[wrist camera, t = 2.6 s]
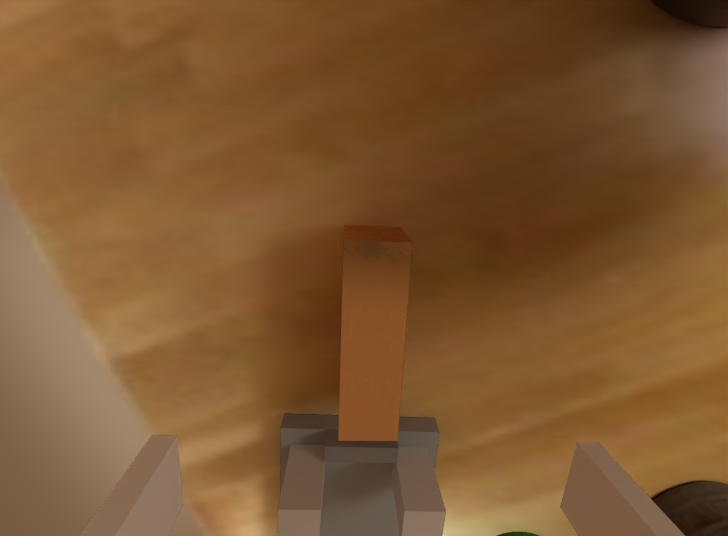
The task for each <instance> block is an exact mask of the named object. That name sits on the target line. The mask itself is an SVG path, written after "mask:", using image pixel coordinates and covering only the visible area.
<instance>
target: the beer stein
mask: <svg viewBox="0 0 728 536" xmlns="http://www.w3.org/2000/svg"><path fill="white" fill-rule="evenodd" d="M653 502H654V503H655V504H656V505H657V506H658V507H659V508H660V509H661V510H662V511H663V512H664V514H665V515H666V516H667V517H668V518H669V519H670V520H671V521H672V522H673V523H674V524H675V525H676V526H677V527H678V529H679V530H680V531H681V532H682V533H683V534H684V535H685V536H728V484H724V483H720V482H706V481H700V482H695V483H690V484H685V485H681V486H678V487H676V488H673V489H670V490H669V491H667V492H665V493H663V494H662V495H660V496H658V497H656V498H655V499H654V500H653Z"/></svg>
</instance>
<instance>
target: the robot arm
mask: <svg viewBox="0 0 728 536" xmlns="http://www.w3.org/2000/svg"><path fill="white" fill-rule="evenodd" d="M653 1H654V2H655V3H656V4H657V5H659V6H660V7H661V8H663V9H664V10H665V11H667V12H669V13H670V14H672V15H674V16H676V17H678V18H680V19H682V20H685V21H687V22H690V23H694V24H698V25H703V26H710V27H728V0H653ZM182 506H183V502H182V489H181V476H180V463H179V450H178V437H177V435H152V436H151V437H150V439H149V440H148V441H147V443H146V444H145V446H144V447H143V448H142V450H141V451H140V453H139V454H138V455H137V457H136V458H135V460H134V461H133V462H132V464H131V465H130V467H129V468H128V469H127V471H126V472H125V474H124V475H123V476H122V478H121V479H120V481H119V482H118V483H117V485H116V486H115V488H114V489H113V490H112V492H111V493H110V494H109V496H108V497H107V499H106V500H105V502H104V503H103V504H102V506H101V507H100V509H99V510H98V511H97V513H96V514H95V516H94V517H93V518H92V520H91V521H90V522H89V524H88V525H87V527H86V528H85V529H84V531H83V532H82V534H81V535H80V536H168V535H169V533H170V531H171V529H172V527H173V525H174V523H175V521H176V519H177V517H178V514H179V512H180V510H181V508H182ZM560 507H561V509H562V510H563V512H564V514H565V515H566V517H567V518H568V520H569V521H570V523H571V524H572V526H573V528H574V529H575V531H576V532H577V534H578V535H579V536H685V535H684V534H683V533H682V532H681V531H680V530H679V529H678V527H677V526H676V525H675V524H674V523H673V522H672V521H671V520H670V519H669V518H668V517H667V516H666V515H665V514H664V512H663V511H662V510H661V509H660V508H659V507H658V506H657V505H656V504H655V503H654V502H653V501H652V500H651V499H650V497H649V496H648V495H647V494H646V493H645V492H644V491H643V490H642V489H641V488H640V487H639V486H638V485H637V483H636V482H635V481H634V480H633V479H632V478H631V477H630V476H629V475H628V474H627V473H626V472H625V471H624V470H623V468H622V467H621V466H620V465H619V464H618V463H617V462H616V461H615V460H614V459H613V458H612V457H611V456H610V455H609V453H608V452H607V451H606V450H605V449H604V448H603V447H602V446H601V445H600V444H599V443H581V442H577V445H576V449H575V452H574V456H573V460H572V464H571V468H570V472H569V476H568V479H567V483H566V487H565V491H564V495H563V499H562V502H561V506H560Z"/></svg>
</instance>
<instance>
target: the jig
mask: <svg viewBox="0 0 728 536" xmlns="http://www.w3.org/2000/svg"><path fill="white" fill-rule="evenodd" d="M439 433H440V432H439V429H438V426H437V424H436V421H435V418H413V417H399V426H398V439H397V441H338V435H339V415H310V414H284V418H283V422H282V426H281V469H280V501H279V506H278V536H442V533H443V527H444V521H445V514H446V510H445V507H444V503H443V500H442V496H441V493H440V489H439V486H438V482H437V479H436V475H435V472H434V467H435V460H436V453H437V446H438V439H439Z"/></svg>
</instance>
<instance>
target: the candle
mask: <svg viewBox="0 0 728 536" xmlns="http://www.w3.org/2000/svg"><path fill="white" fill-rule="evenodd" d="M497 536H539V535H536V534H533V533H527V532H509V533H503V534H500V535H497Z"/></svg>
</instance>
